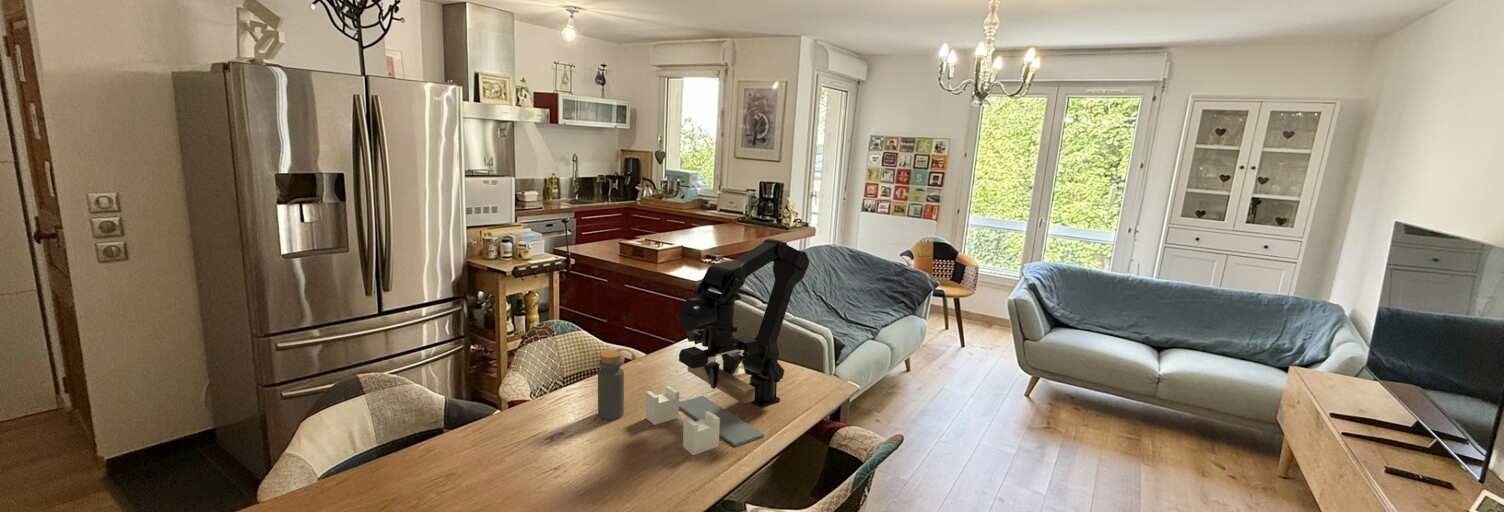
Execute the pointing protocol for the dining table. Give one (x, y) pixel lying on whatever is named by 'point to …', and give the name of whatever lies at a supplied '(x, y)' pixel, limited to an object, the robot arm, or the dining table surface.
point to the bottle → (610, 386)
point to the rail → (728, 385)
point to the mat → (721, 420)
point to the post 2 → (701, 434)
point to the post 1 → (662, 406)
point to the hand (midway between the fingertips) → (719, 386)
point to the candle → (739, 370)
